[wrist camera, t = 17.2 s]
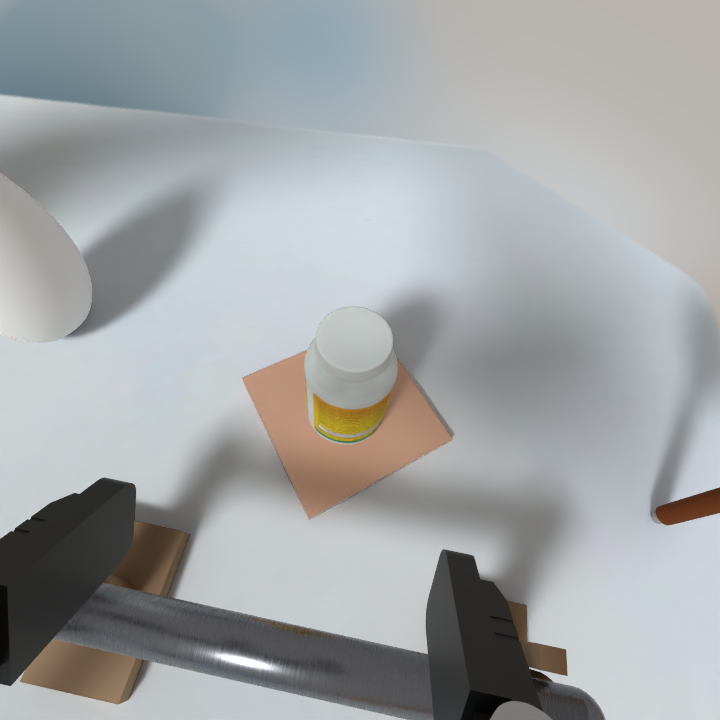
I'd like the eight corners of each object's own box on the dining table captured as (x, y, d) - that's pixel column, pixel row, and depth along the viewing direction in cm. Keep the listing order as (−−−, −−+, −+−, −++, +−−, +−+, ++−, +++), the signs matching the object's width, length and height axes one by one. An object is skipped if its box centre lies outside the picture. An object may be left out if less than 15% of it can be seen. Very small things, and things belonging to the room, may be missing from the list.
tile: (243, 381, 31) (242, 377, 31) (372, 326, 34) (372, 322, 34) (309, 519, 26) (308, 518, 26) (450, 440, 30) (452, 438, 29)
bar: (-32, 614, 16) (-74, 615, 15) (1, 558, 17) (-35, 553, 16) (590, 755, 15) (624, 774, 14) (586, 688, 16) (616, 697, 15)
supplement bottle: (295, 394, 30) (284, 315, 22) (360, 366, 32) (374, 281, 23) (328, 461, 28) (330, 400, 20) (397, 426, 30) (426, 357, 21)
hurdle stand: (34, 678, 22) (-145, 720, 13) (110, 517, 26) (8, 474, 18) (519, 789, 21) (646, 909, 13) (518, 605, 25) (613, 603, 17)
